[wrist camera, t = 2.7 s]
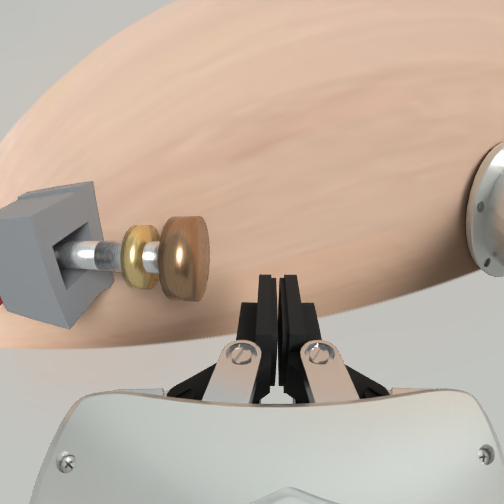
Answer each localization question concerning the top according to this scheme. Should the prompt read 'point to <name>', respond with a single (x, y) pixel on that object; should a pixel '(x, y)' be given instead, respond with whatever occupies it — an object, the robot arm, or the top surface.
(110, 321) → the top surface
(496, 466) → the robot arm
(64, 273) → the housing
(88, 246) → the shaft
